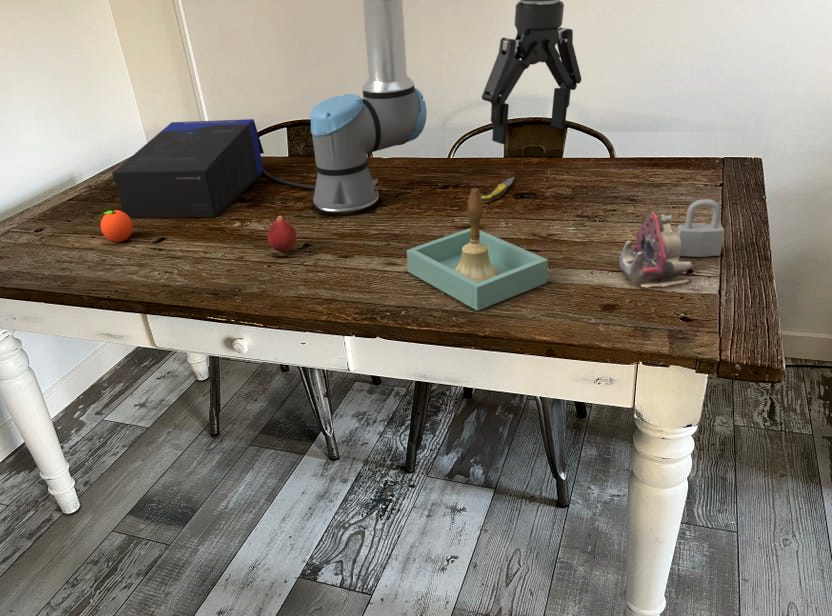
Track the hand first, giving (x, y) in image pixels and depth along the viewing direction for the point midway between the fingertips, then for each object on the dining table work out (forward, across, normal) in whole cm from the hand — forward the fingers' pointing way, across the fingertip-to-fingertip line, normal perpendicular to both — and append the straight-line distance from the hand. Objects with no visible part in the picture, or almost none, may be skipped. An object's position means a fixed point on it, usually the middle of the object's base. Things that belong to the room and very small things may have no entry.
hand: (529, 134), depth 130 cm
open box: (+22, -14, -3) cm, 26 cm away
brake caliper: (+21, +9, -23) cm, 32 cm away
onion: (+25, -34, +32) cm, 53 cm away
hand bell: (+22, -14, -3) cm, 26 cm away
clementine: (+27, -59, +66) cm, 93 cm away
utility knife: (+23, +19, +27) cm, 40 cm away
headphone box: (+27, -33, +84) cm, 94 cm away
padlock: (+20, +21, -23) cm, 37 cm away
